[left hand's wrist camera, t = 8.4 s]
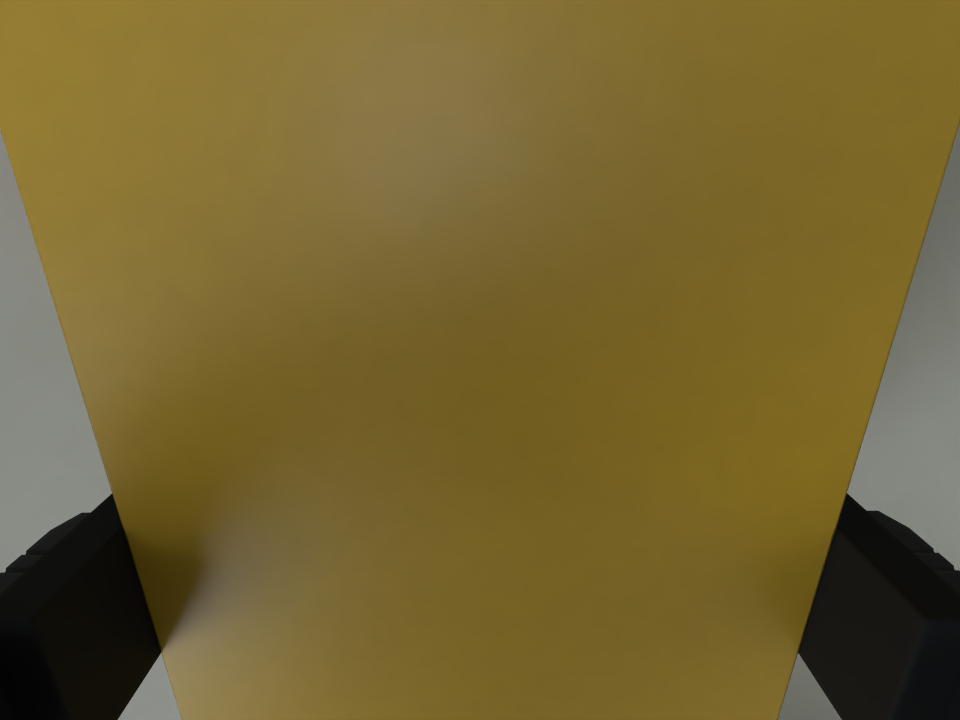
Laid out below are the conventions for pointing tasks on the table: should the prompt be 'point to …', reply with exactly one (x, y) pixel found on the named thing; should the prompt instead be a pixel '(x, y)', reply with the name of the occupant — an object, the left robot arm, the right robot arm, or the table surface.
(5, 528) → the table surface
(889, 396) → the table surface
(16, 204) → the table surface
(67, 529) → the left robot arm
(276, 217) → the yellow two-tone block
